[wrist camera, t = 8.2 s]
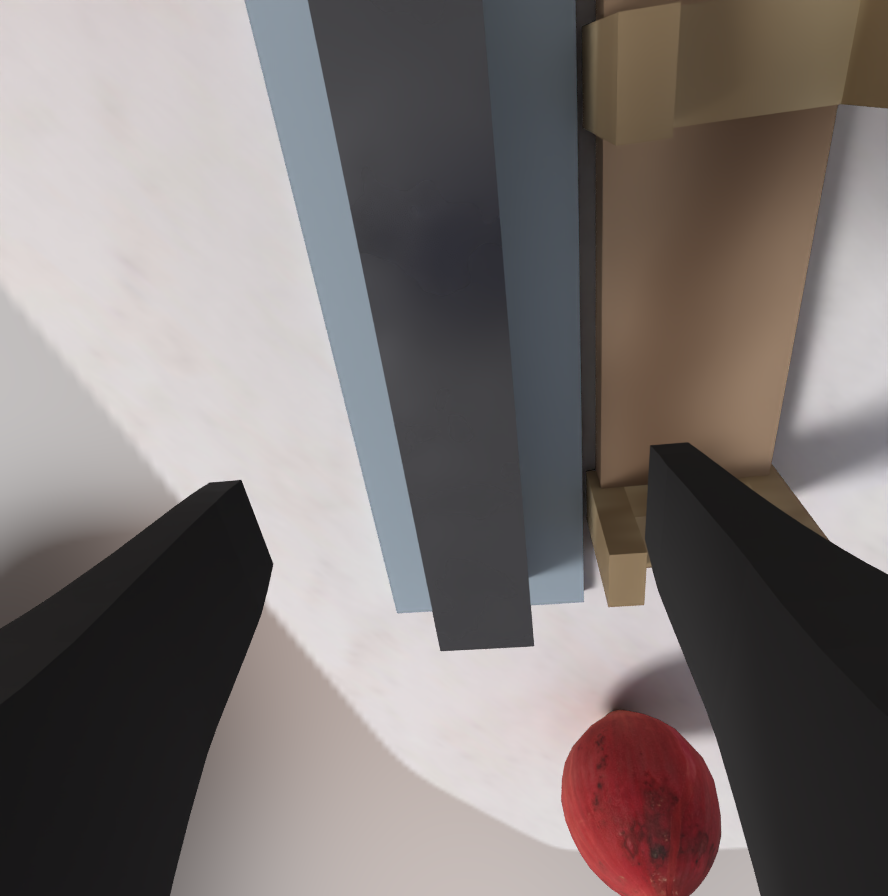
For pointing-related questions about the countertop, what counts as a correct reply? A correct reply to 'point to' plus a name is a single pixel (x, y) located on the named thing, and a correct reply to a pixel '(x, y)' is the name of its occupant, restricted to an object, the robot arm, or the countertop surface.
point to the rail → (436, 292)
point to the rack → (706, 232)
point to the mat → (525, 269)
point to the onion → (641, 806)
